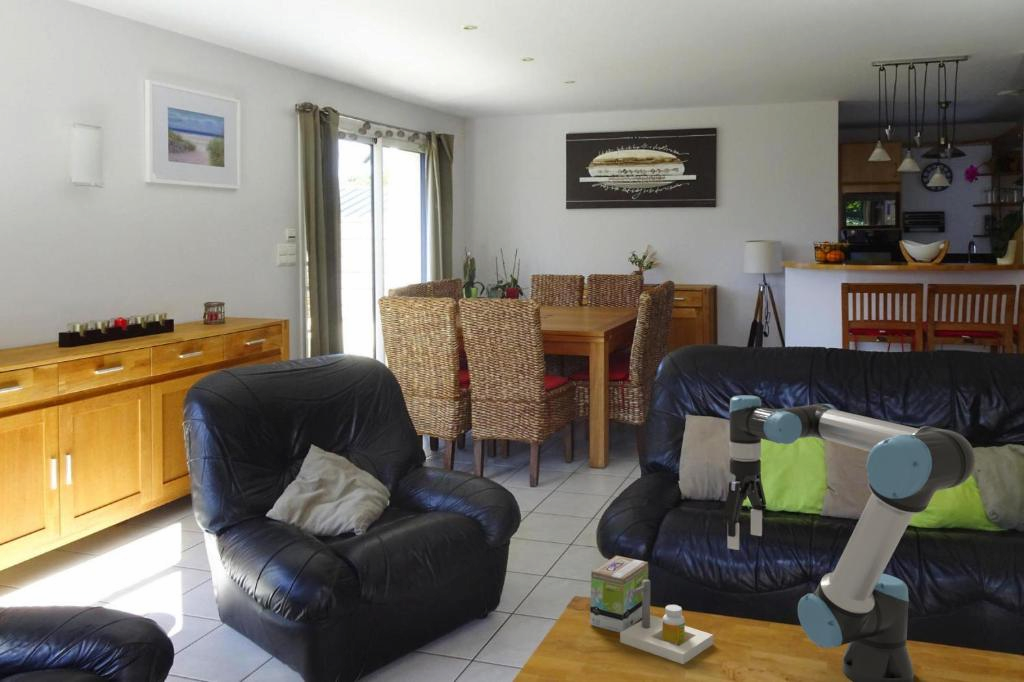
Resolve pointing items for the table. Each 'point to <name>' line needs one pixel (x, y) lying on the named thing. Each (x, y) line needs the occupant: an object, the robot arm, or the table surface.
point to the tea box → (617, 593)
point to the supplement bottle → (673, 625)
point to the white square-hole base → (650, 634)
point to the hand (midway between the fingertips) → (745, 541)
